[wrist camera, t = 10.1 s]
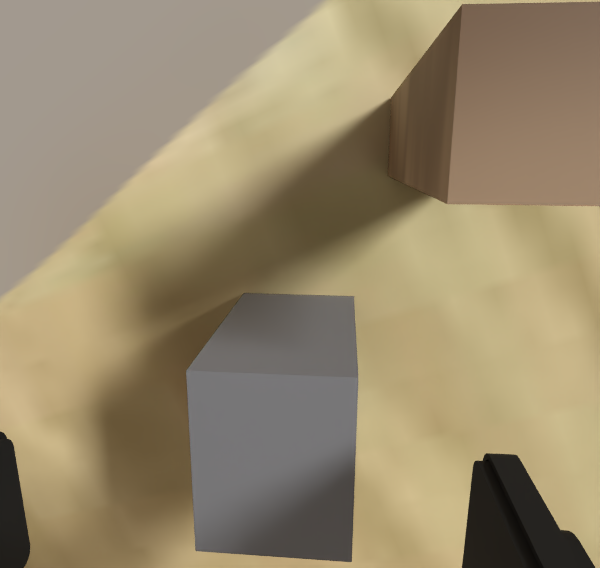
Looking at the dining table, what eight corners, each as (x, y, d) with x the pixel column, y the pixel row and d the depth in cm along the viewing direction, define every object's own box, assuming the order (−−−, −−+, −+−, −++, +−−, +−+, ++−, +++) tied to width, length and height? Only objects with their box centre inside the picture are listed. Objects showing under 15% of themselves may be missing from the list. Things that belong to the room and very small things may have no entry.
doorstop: (349, 422, 20) (351, 562, 13) (246, 417, 20) (195, 551, 13) (353, 296, 18) (358, 377, 12) (243, 293, 19) (186, 370, 12)
